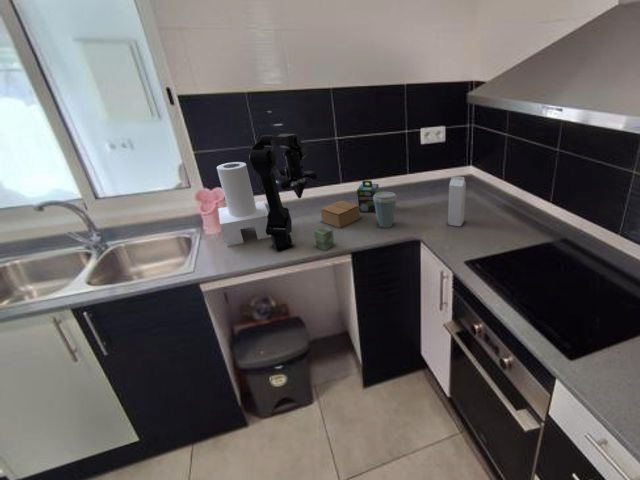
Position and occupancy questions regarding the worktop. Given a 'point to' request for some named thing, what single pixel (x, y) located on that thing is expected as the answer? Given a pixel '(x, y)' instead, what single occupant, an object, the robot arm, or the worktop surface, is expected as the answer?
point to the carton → (341, 218)
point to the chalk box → (367, 196)
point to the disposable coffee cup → (385, 208)
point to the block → (324, 238)
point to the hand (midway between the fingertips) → (299, 198)
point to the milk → (456, 201)
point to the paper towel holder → (239, 204)
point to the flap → (334, 209)
